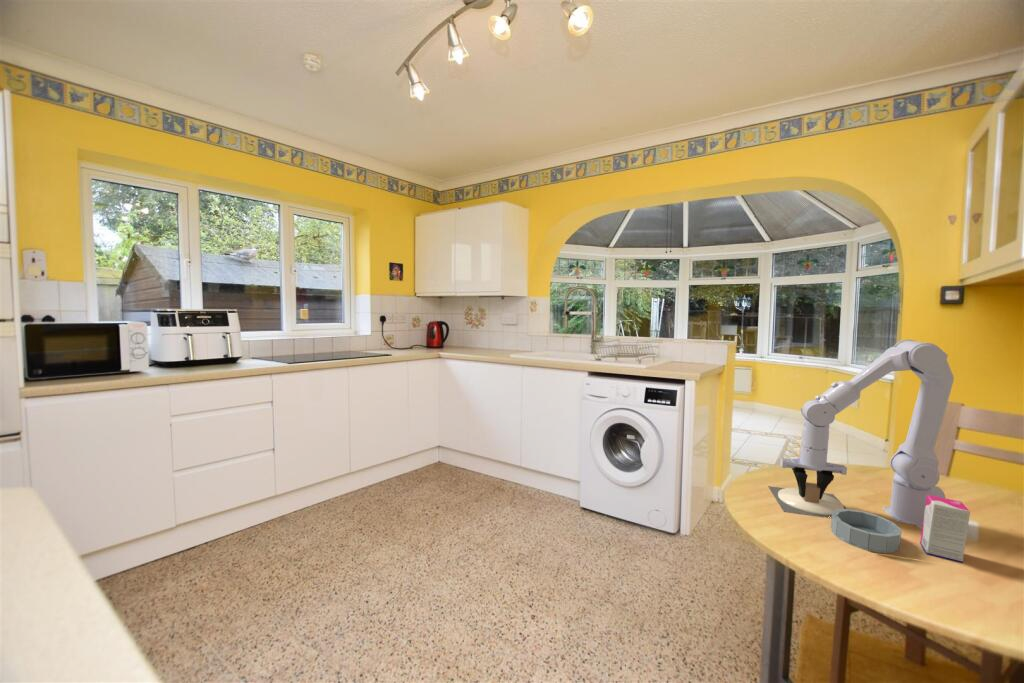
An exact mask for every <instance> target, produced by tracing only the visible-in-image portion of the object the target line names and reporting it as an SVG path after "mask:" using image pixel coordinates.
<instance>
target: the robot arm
mask: <svg viewBox="0 0 1024 683" xmlns="http://www.w3.org/2000/svg"><path fill="white" fill-rule="evenodd" d="M948 356H949V355H948V354H947V353H946V351H944V350H943V349H942V348H941V347H939V346H938V345H936V344H934V343H932V342H923V341H916V340H913V339H904V340H903V339H902V340H900V341H898V342H897V343H895V344H894V345H893V346H891V347H889V348H887V349H886V350H885V351H884V352H883V353H882V354H880V356H879V357H877V358H876V359H875V360H874V361H872V362H870V364H868V365H867V366H866V367H865V368H863V369H862V370H860V372H858V373H857V374H856V375H855V376H853V377H852V378H850V380H839V381H838V382H836V381H834V382H832V383H830V388H828V389H827V390H825V391H824V392H823V393H822V394H820V395H818V394H817V395H815V396H814V399H813V400H812V399H810V400H808V401H806V402H805V403H804V404H803V406H802V408H800V413H801V415H802V416H803V417H804V418H803V426H802V434H801V445H800V457H799V458H783V457H781V458H780V462H779V463H780V464H779V465H780V467H781V468H782V469H787V468H789V469H791V470H792V472H793V475H794V477H795V480H796V482H797V488H799V494H800V496H801V497H805V485H806V482H807V479H808V473H806V471H815V472H816V484H817V485H818V486H819V487H820V498H819V499H822V496H823V494H824V493H825V491H826V489H827V488H828V486H829V485H830V484H831V483H832V481H833V480H834V479H835V475H834V474H841V475H844V476H847V473H848V472H847V471H848V467H846V466H845V465H844V464H837V463H832V462H828V453H829V452H828V449H829V437H830V425H831V424H833V423H834V421H835V419H836V415H837V414H839V413H841V412H842V411H844V410H845V409H847V408H848V407H849V406H851V405H853V403H855V402H857V401H858V400H860V398H861V393H862V391H863V390H865V389H866V388H868V387H870V386H872V384H874V383H875V382H878V381H879V380H880V379H882V378H883V377H885V376H887V375H889V374H890V373H891V372H902V371H904V372H905V371H911V372H913V374H915V376H917V378H919V380H920V382H921V383H920V385H919V390H918V393H917V398H916V400H915V404H914V409H913V411H912V414H911V418H910V423H909V427H908V430H907V434H906V438H905V441H904V442H903V443H900V445H898V448H897V451H896V452H895V453H894V454H893V455H892V456H891V457H890V458H889V459H890V460H889V465H890V469H891V470H892V471H893V472H894V475H893V476H892V485H891V495H890V505H889V506H882V507H881V509H882V510H883V511H884V512H886V513H887V515H889V516H890V517H891V518H892V519H893V520H894V521H895V522H896V523H899V524H907V525H914V526H915V525H916V526H921V525H923V519H924V512H925V505H926V498H927V495H931V496H936V497H941V498H946V495H945V492H944V491H943V489H942V488H941V487H939V486H937V484H939V481H940V473H939V470H938V467H939V466H938V465H939V459H938V457H937V453H936V451H935V448H936V445H937V443H938V442H937V441H938V439H939V438H938V437H939V434H940V430H941V426H942V424H943V419H944V418H945V417H944V416H945V413H946V410H947V405H948V402H949V398H950V394H951V390H952V388H953V384H954V381H955V380H954V375H953V372H952V369H951V367H950V364H949V362H948ZM833 473H834V474H833Z"/></svg>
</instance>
